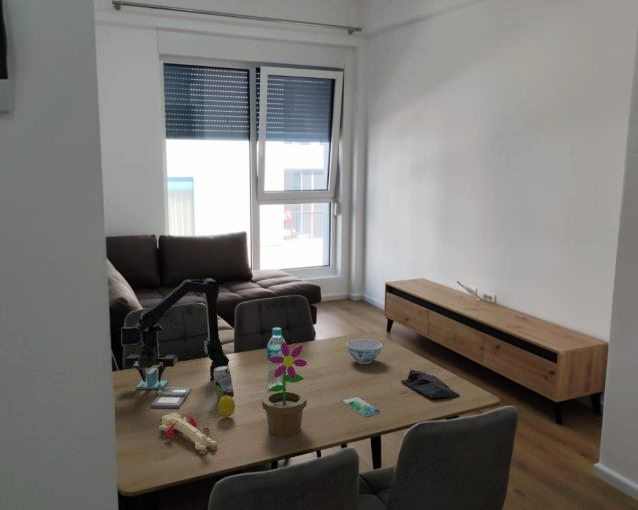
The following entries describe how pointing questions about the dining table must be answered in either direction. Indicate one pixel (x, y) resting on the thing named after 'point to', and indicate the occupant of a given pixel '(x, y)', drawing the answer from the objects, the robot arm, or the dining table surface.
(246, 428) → the dining table surface
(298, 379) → the flowerpot
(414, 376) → the dark grey cloth
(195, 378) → the dining table surface
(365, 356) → the chinaware
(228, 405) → the lemon
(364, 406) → the smartphone
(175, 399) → the plate
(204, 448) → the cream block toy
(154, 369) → the stub
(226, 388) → the beverage can
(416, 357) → the dining table surface
